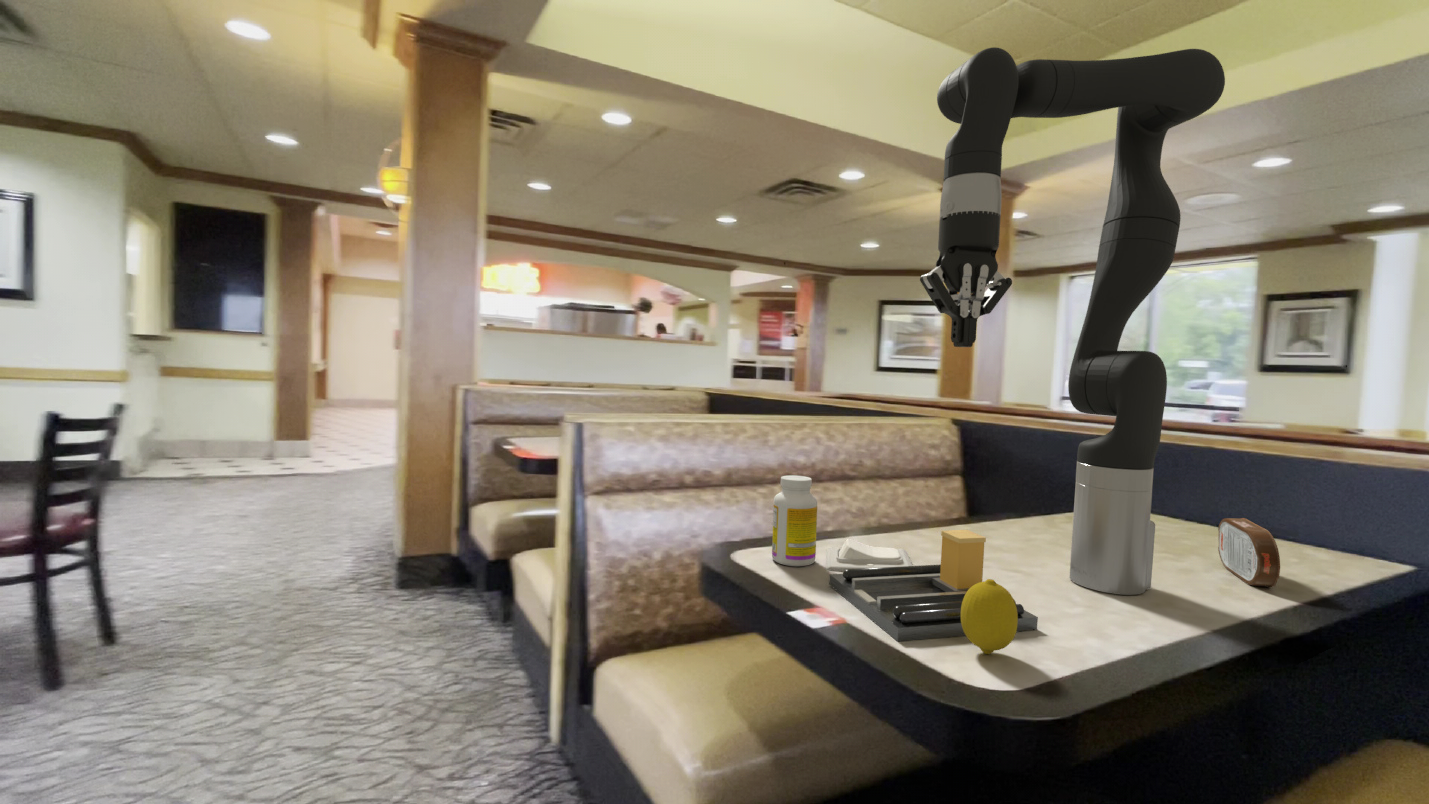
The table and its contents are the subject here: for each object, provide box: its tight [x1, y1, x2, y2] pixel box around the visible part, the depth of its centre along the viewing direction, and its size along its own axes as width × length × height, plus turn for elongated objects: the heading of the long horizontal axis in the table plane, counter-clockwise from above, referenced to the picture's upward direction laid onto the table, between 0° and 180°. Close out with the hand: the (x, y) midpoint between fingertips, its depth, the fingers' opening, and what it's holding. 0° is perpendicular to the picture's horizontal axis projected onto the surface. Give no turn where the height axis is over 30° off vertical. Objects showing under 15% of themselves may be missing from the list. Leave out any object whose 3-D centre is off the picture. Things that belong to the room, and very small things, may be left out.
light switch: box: [825, 538, 914, 573], centre depth 98 cm, size 11×4×13 cm
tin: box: [1217, 517, 1281, 588], centre depth 96 cm, size 15×3×8 cm, turn 160°
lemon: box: [961, 578, 1018, 655], centre depth 67 cm, size 6×6×8 cm
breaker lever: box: [932, 529, 987, 592], centre depth 81 cm, size 5×5×7 cm
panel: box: [828, 563, 1039, 642], centre depth 80 cm, size 18×18×3 cm
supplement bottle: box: [771, 474, 818, 567], centre depth 97 cm, size 7×7×13 cm
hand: (962, 346), depth 85 cm, fingers closed
